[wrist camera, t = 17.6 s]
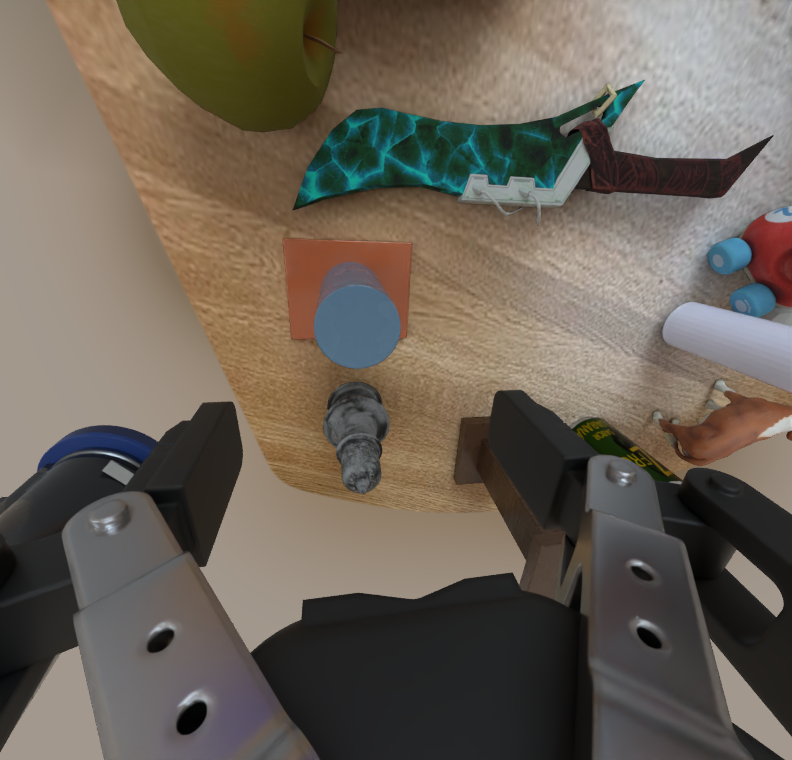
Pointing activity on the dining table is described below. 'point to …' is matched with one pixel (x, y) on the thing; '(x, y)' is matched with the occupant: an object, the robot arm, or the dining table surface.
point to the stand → (509, 507)
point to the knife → (506, 159)
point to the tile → (318, 256)
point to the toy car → (759, 263)
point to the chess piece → (357, 433)
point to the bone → (779, 315)
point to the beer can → (620, 447)
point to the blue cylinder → (355, 317)
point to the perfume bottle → (734, 341)
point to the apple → (241, 54)
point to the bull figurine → (727, 427)
